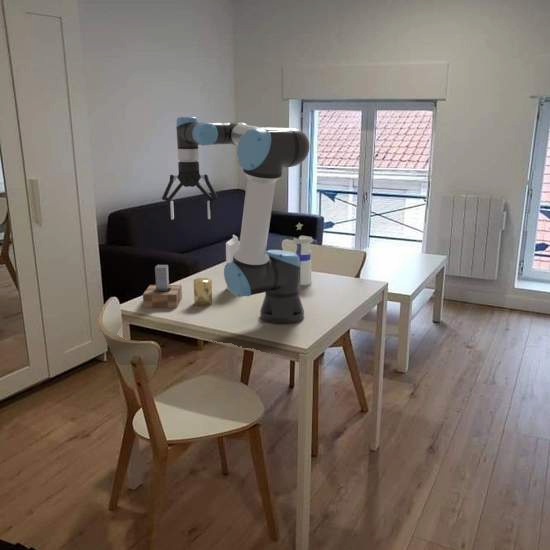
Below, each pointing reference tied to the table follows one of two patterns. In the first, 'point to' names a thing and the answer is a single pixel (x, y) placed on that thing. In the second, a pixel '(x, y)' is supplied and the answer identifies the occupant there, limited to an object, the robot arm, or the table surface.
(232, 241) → the milk
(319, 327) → the table surface
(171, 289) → the socket block
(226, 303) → the table surface
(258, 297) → the table surface
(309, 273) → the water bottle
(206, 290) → the round bit
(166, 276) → the square bit
